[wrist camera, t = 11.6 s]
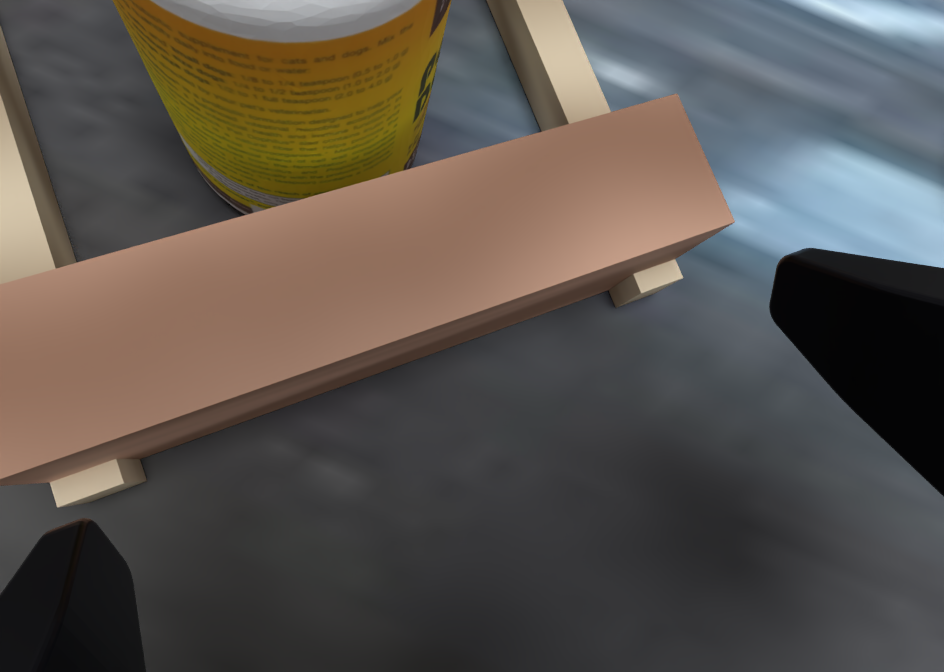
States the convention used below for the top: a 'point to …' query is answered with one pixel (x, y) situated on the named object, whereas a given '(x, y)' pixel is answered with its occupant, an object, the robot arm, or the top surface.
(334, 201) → the rail track
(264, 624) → the top surface
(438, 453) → the top surface
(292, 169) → the supplement bottle
